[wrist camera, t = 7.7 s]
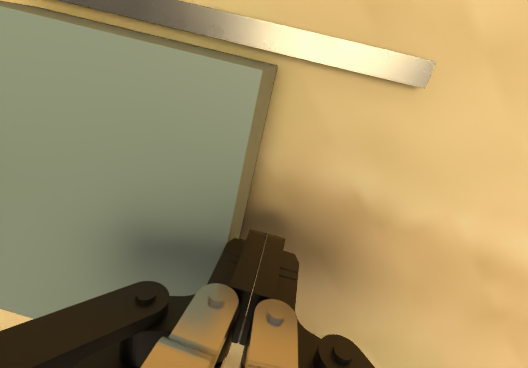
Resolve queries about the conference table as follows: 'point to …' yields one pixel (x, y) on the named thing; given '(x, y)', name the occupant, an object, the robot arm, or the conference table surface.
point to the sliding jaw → (118, 158)
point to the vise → (273, 39)
